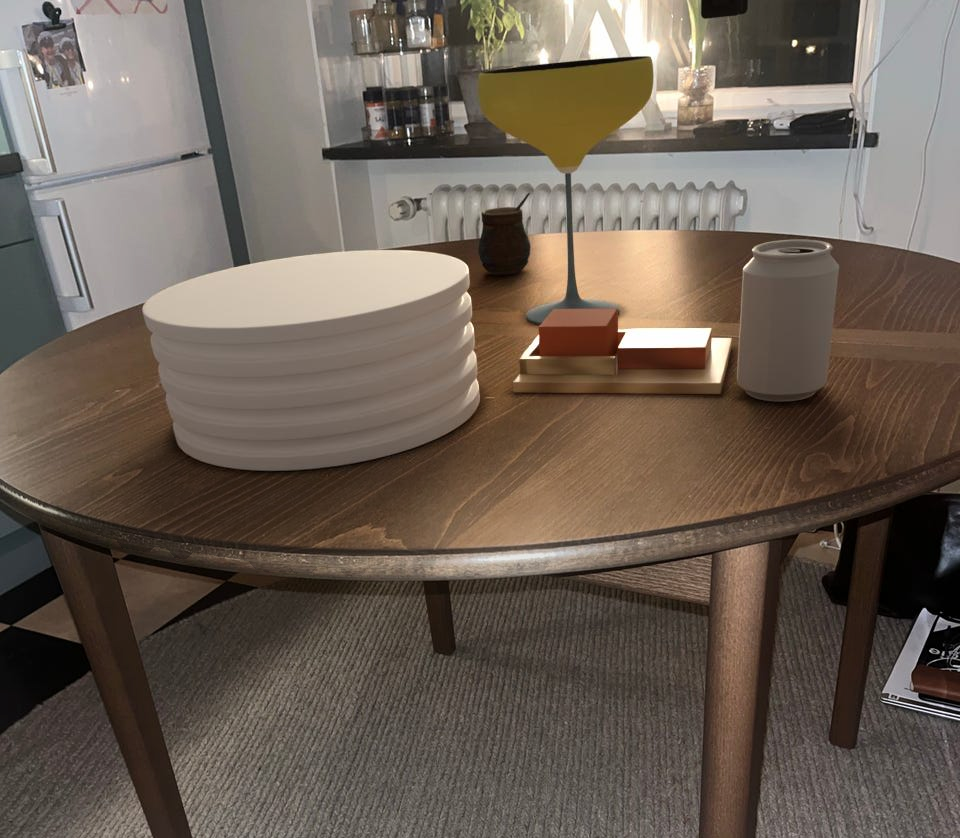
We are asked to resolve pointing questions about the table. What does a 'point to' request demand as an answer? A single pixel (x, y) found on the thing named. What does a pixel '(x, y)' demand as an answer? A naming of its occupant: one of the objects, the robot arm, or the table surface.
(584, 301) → the cocktail glass
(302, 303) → the plate stack
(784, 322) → the can
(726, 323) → the table surface
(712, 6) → the robot arm
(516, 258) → the mate gourd
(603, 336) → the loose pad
